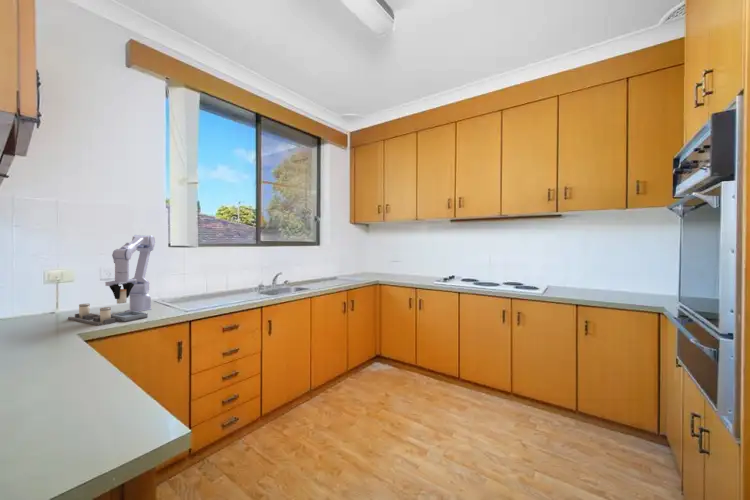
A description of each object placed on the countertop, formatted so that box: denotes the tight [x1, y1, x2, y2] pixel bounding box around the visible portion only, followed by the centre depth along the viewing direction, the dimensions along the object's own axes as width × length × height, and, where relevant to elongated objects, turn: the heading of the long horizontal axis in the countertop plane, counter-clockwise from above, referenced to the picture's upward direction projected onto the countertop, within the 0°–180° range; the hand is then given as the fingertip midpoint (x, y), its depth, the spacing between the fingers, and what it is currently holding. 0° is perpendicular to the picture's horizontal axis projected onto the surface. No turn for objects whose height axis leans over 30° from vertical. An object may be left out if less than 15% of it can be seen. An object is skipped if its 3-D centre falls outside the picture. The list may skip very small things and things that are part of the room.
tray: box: [111, 311, 149, 323], centre depth 167 cm, size 11×13×2 cm
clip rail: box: [67, 312, 122, 327], centre depth 161 cm, size 10×26×2 cm, turn 67°
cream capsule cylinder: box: [78, 303, 91, 319], centre depth 165 cm, size 4×4×7 cm
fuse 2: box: [99, 306, 112, 324], centre depth 158 cm, size 4×4×7 cm
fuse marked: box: [116, 288, 127, 305], centre depth 168 cm, size 4×4×7 cm
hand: (121, 298), depth 168 cm, fingers closed on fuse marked, 4 cm apart
